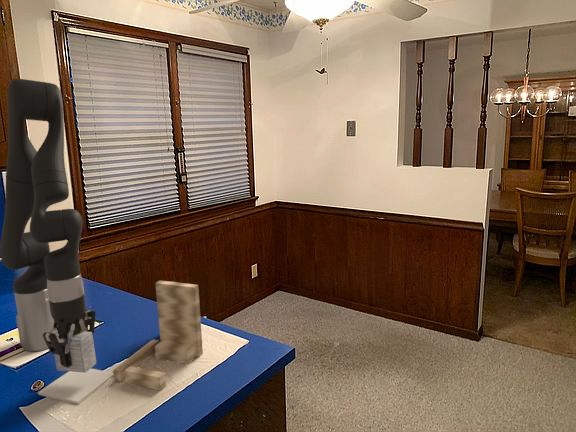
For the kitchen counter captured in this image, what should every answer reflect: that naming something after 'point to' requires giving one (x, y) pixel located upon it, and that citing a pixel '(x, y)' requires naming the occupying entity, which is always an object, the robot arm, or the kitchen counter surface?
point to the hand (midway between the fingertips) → (75, 360)
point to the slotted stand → (168, 335)
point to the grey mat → (76, 385)
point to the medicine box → (79, 353)
